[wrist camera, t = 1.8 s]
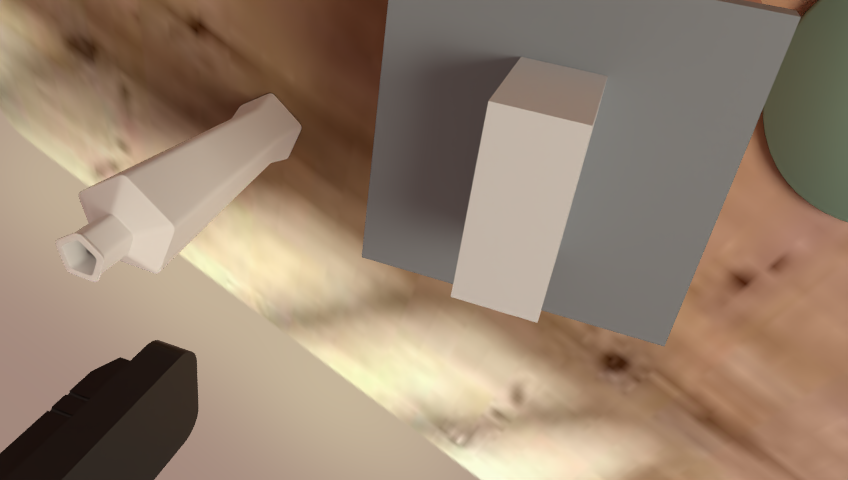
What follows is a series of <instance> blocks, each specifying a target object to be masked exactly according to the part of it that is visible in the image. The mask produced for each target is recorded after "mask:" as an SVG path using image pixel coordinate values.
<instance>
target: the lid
mask: <svg viewBox="0 0 848 480" xmlns="http://www.w3.org/2000/svg"><path fill="white" fill-rule="evenodd" d="M800 18H801V16H800V15H799V14H798V12H797V11H796V10H791V9H786V8H781V7H776V6H771V5H766V4H761V3H756V2H751V1H746V0H388V9H387V19H386V29H385V38H384V48H383V58H382V67H381V77H380V87H379V96H378V106H377V116H376V125H375V135H374V145H373V154H372V164H371V174H370V183H369V193H368V203H367V212H366V222H365V232H364V241H363V251H362V257H363V258H367V259H370V260H374V261H377V262H380V263H384V264H387V265H390V266H394V267H397V268H401V269H404V270H407V271H411V272H414V273H418V274H421V275H424V276H428V277H431V278H434V279H438V280H441V281H445V282H448V283H451V284H453V288H452V293H451V297H453V298H457V299H460V300H463V301H467V302H470V303H473V304H477V305H480V306H483V307H487V308H490V309H493V310H497V311H500V312H503V313H507V314H510V315H513V316H517V317H520V318H523V319H527V320H530V321H533V322H538V319H539V316H540V312H541V310H543V311H546V312H550V313H553V314H556V315H560V316H563V317H567V318H570V319H573V320H577V321H580V322H583V323H587V324H590V325H594V326H597V327H600V328H604V329H607V330H611V331H614V332H617V333H621V334H624V335H627V336H631V337H634V338H638V339H641V340H644V341H648V342H651V343H655V344H658V345H661V346H665V344H666V341H667V339H668V336H669V334H670V332H671V329H672V327H673V324H674V322H675V319H676V317H677V315H678V312H679V310H680V307H681V305H682V303H683V300H684V298H685V295H686V293H687V291H688V288H689V286H690V283H691V281H692V278H693V276H694V274H695V271H696V269H697V266H698V264H699V262H700V259H701V257H702V254H703V252H704V250H705V247H706V245H707V242H708V240H709V237H710V235H711V233H712V230H713V228H714V225H715V223H716V221H717V218H718V216H719V213H720V211H721V209H722V206H723V204H724V201H725V199H726V196H727V194H728V192H729V189H730V187H731V184H732V182H733V180H734V177H735V175H736V172H737V170H738V168H739V165H740V163H741V160H742V158H743V155H744V153H745V151H746V148H747V146H748V143H749V141H750V139H751V136H752V134H753V131H754V129H755V126H756V124H757V122H758V119H759V117H760V114H761V112H762V110H763V107H764V105H765V102H766V100H767V98H768V95H769V93H770V90H771V88H772V85H773V83H774V81H775V78H776V76H777V73H778V71H779V69H780V66H781V64H782V61H783V59H784V57H785V54H786V52H787V49H788V47H789V44H790V42H791V40H792V37H793V35H794V32H795V30H796V28H797V25H798V23H799V20H800Z"/></svg>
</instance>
